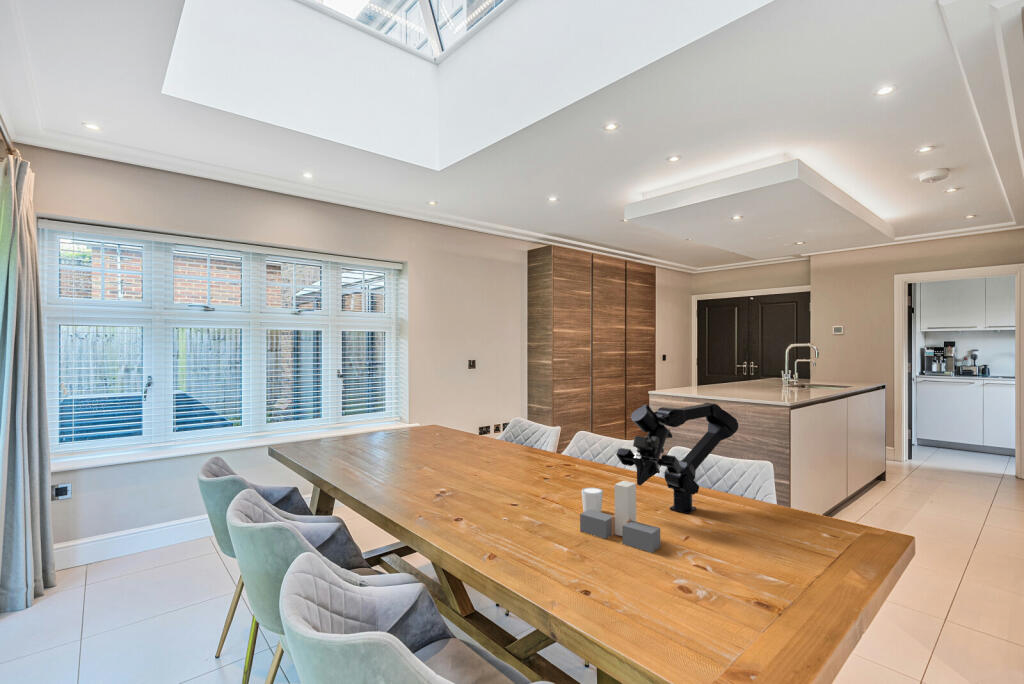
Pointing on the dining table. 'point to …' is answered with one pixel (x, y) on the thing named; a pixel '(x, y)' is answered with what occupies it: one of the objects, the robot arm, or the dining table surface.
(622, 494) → the peg block
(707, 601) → the dining table surface
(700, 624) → the dining table surface
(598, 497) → the shot glass
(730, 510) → the dining table surface
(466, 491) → the dining table surface
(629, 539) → the grey blocks
